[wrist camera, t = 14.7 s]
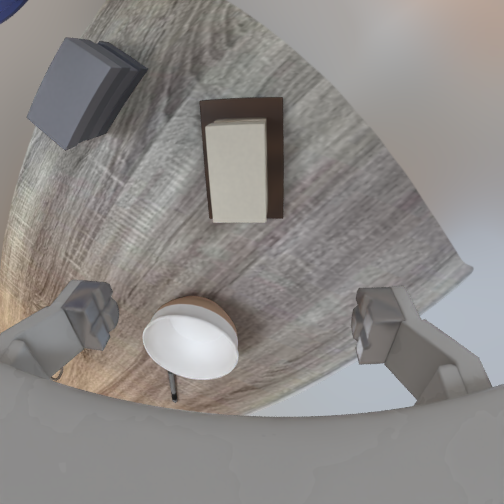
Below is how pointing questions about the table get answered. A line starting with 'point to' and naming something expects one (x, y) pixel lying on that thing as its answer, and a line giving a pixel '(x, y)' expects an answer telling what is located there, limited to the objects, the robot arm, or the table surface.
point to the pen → (172, 386)
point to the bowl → (192, 338)
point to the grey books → (83, 91)
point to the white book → (237, 171)
